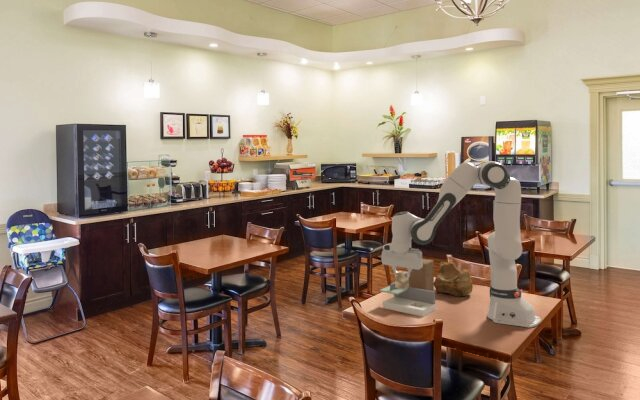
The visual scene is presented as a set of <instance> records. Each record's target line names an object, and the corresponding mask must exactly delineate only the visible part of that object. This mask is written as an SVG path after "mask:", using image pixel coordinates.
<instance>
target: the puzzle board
mask: <svg viewBox="0 0 640 400" xmlns="http://www.w3.org/2000/svg"><path fill="white" fill-rule="evenodd" d="M407 288H408V290H407V291H405V292H402V293H400V294H398V295H396V294H393V295H394V296H392V297H390V298H389V299H386V300H384V301H382V309H387V310H389V311H390V310H391V311H396V312H399V313H400V312H401V313H404V314H410V315H413V316H418V317H423V318H424V317H425V316H427V315H429V314H431V313H432V312H434V311H436V291H435V290H434V291H429V290H423V289H418V288H412V287H407Z"/></svg>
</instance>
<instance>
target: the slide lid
mask: <svg viewBox="0 0 640 400" xmlns="http://www.w3.org/2000/svg"><path fill="white" fill-rule="evenodd" d="M407 290H408V288H405V289H401V288H396V287H395V281H394V282H391V283H390V284H389V285H388V286H385V287H384V288H381V289H379V292H380V293H387V294H391V295H394V294H396V295H398V294H400V293H402V292H405V291H407Z"/></svg>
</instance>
